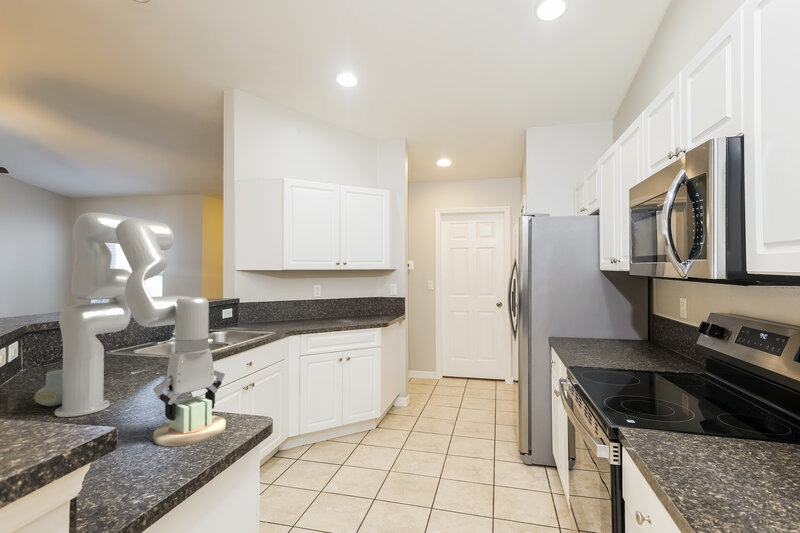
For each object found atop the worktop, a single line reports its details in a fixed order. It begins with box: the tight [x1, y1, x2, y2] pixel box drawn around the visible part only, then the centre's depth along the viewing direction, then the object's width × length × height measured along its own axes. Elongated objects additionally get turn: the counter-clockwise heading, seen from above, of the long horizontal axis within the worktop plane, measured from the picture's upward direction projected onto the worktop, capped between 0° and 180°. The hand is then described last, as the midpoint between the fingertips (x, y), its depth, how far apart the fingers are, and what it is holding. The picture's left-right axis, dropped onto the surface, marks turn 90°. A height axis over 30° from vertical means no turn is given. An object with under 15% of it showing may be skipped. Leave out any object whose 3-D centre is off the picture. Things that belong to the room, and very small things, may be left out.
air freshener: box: [34, 368, 63, 407], centre depth 121 cm, size 11×8×10 cm
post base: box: [152, 401, 227, 447], centre depth 97 cm, size 16×16×8 cm
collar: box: [169, 395, 213, 433], centre depth 98 cm, size 7×7×6 cm
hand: (191, 413), depth 98 cm, fingers open, 9 cm apart
